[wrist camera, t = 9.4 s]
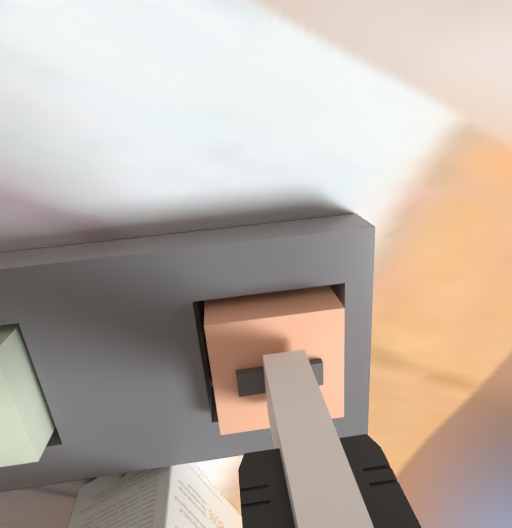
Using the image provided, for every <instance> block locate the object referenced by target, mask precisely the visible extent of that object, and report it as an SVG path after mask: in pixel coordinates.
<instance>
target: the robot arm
mask: <svg viewBox="0 0 512 528" xmlns="http://www.w3.org/2000/svg"><path fill="white" fill-rule="evenodd" d="M263 365H264V376H265V387H266V398H267V409H268V418H269V423H270V429H271V434H272V440H273V445H274V449H270V450H263V451H256V452H250V453H245V454H244V456H243V459H242V462H241V465H240V467H239V470H238V471H239V485H240V499H241V513H242V527H243V528H421V526H420V524H419V522H418V520H417V518H416V516H415V514H414V512H413V510H412V508H411V506H410V504H409V502H408V500H407V498H406V496H405V495H404V492H403V490H402V488H401V487H400V485H399V483H398V482H397V479H396V477H395V475H394V473H393V471H392V469H391V468H390V465H389V463H388V461H387V459H386V457H385V455H384V453H383V451H382V449H381V447H380V446H379V445H378V444H377V443H376V442H375V441H373V440H372V439H371V438H370V437H369V436H368V435H367V434H363V435H356V436H349V437H343V438H339V437H338V434H337V431H336V429H335V426H334V424H333V421H332V419H331V416H330V414H329V411H328V408H327V406H326V403H325V401H324V398H323V396H322V393H321V390H320V388H319V385H318V383H317V380H316V378H315V375H314V372H313V370H312V367H311V365H310V362H309V360H308V357H307V354H306V352H305V350H297V351H290V352H282V353H275V354H267V355H263Z"/></svg>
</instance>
